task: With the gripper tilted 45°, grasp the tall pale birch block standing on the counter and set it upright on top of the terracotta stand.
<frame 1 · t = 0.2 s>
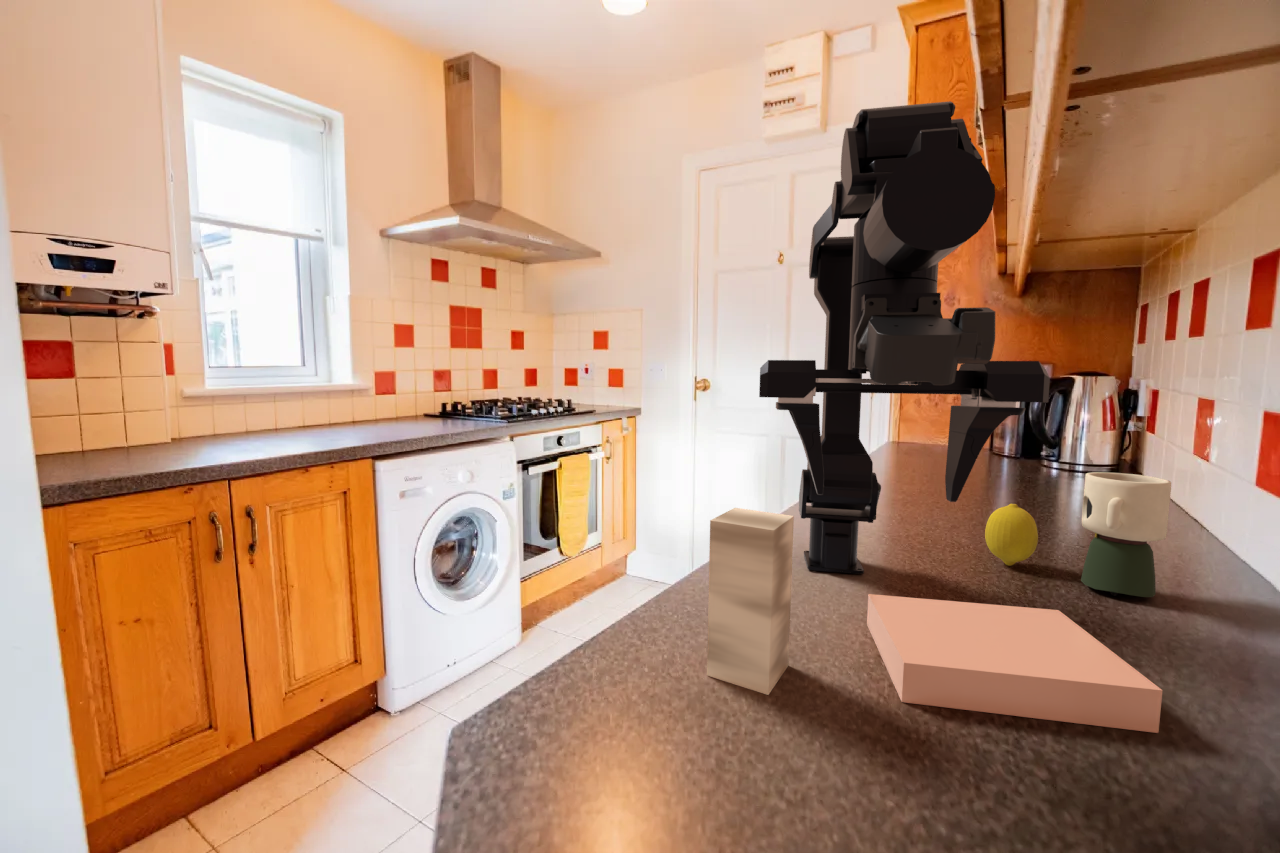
hand: (883, 497, 41), 15 cm above the counter, tool pointing down, fingers open, 9 cm apart
lemon: (1008, 567, 70), on the counter
character mug: (1116, 593, 62), on the counter
terracotta stand: (986, 669, 45), on the counter
birch block: (748, 670, 44), on the counter
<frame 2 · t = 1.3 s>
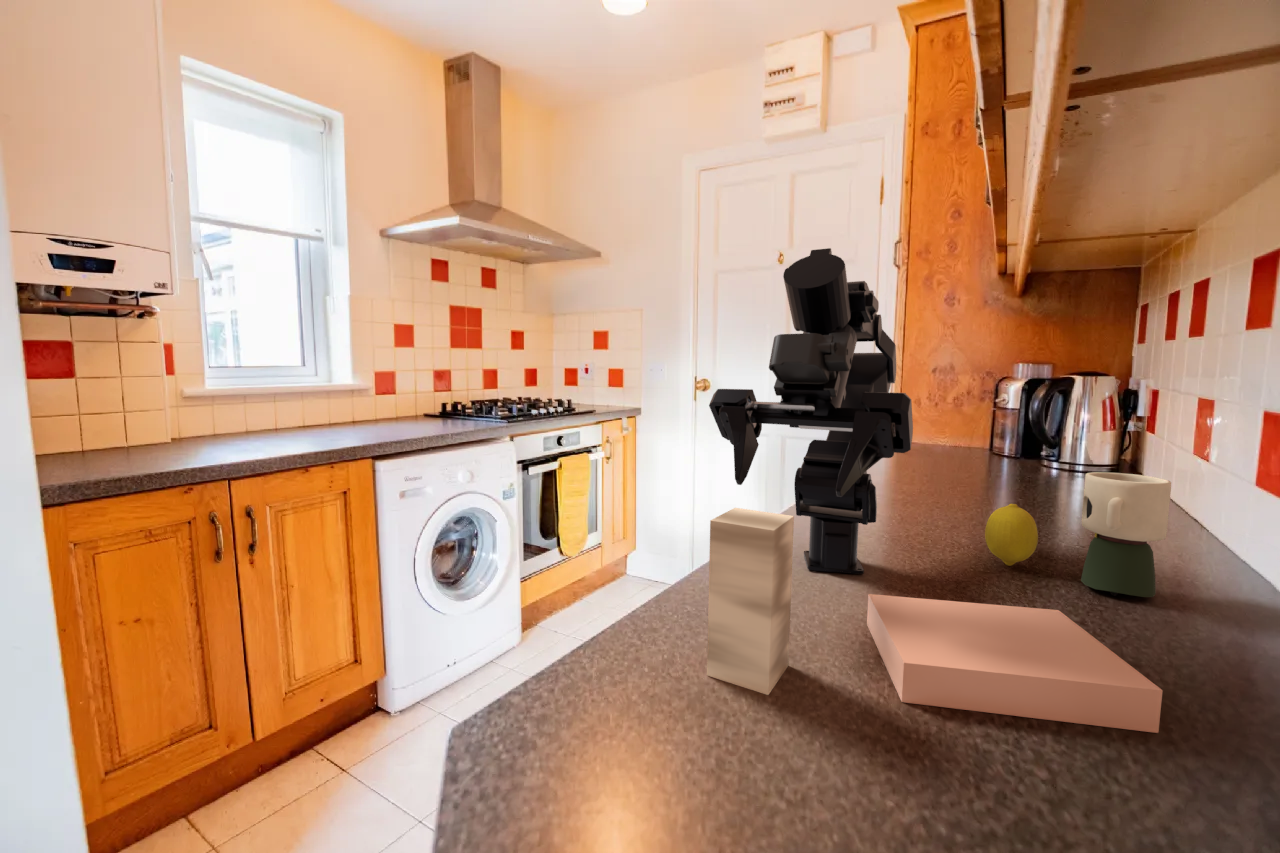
hand: (785, 487, 50), 14 cm above the counter, tool tilted 45°, fingers open, 9 cm apart
nothing on the counter moved.
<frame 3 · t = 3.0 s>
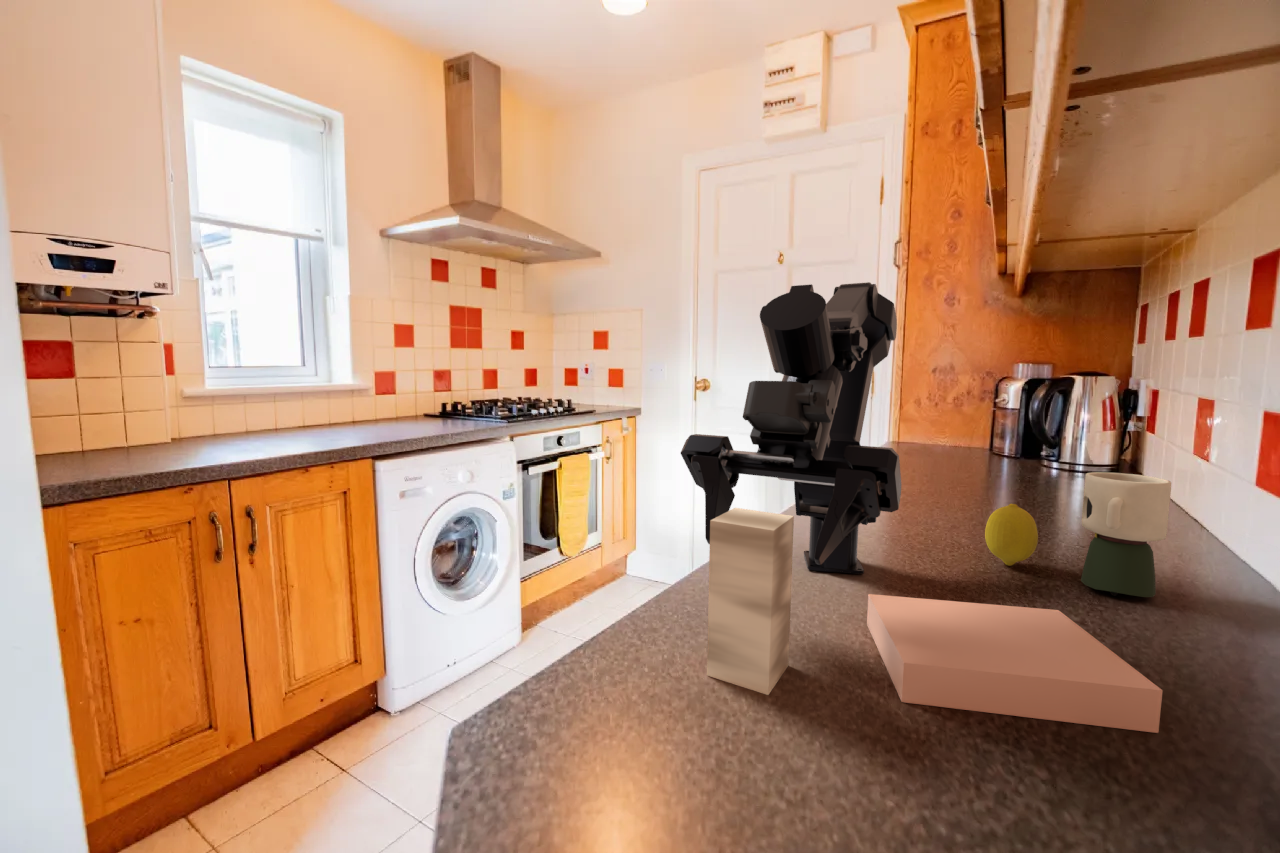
hand: (760, 551, 45), 9 cm above the counter, tool tilted 45°, fingers open, 9 cm apart
nothing on the counter moved.
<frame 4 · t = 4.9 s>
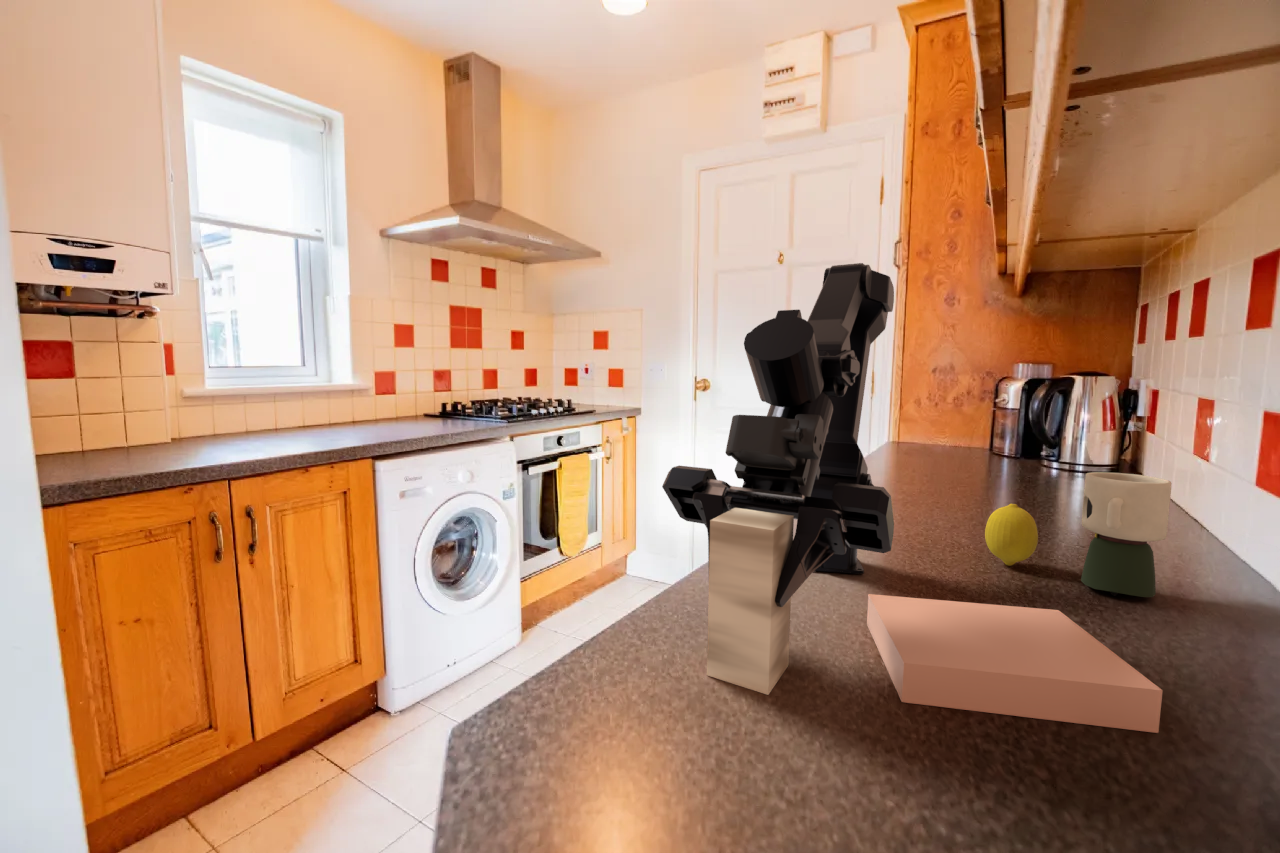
hand: (744, 596, 43), 7 cm above the counter, tool tilted 45°, fingers closed on birch block, 5 cm apart
birch block: (748, 670, 44), on the counter, touching gripper
everything else where it was.
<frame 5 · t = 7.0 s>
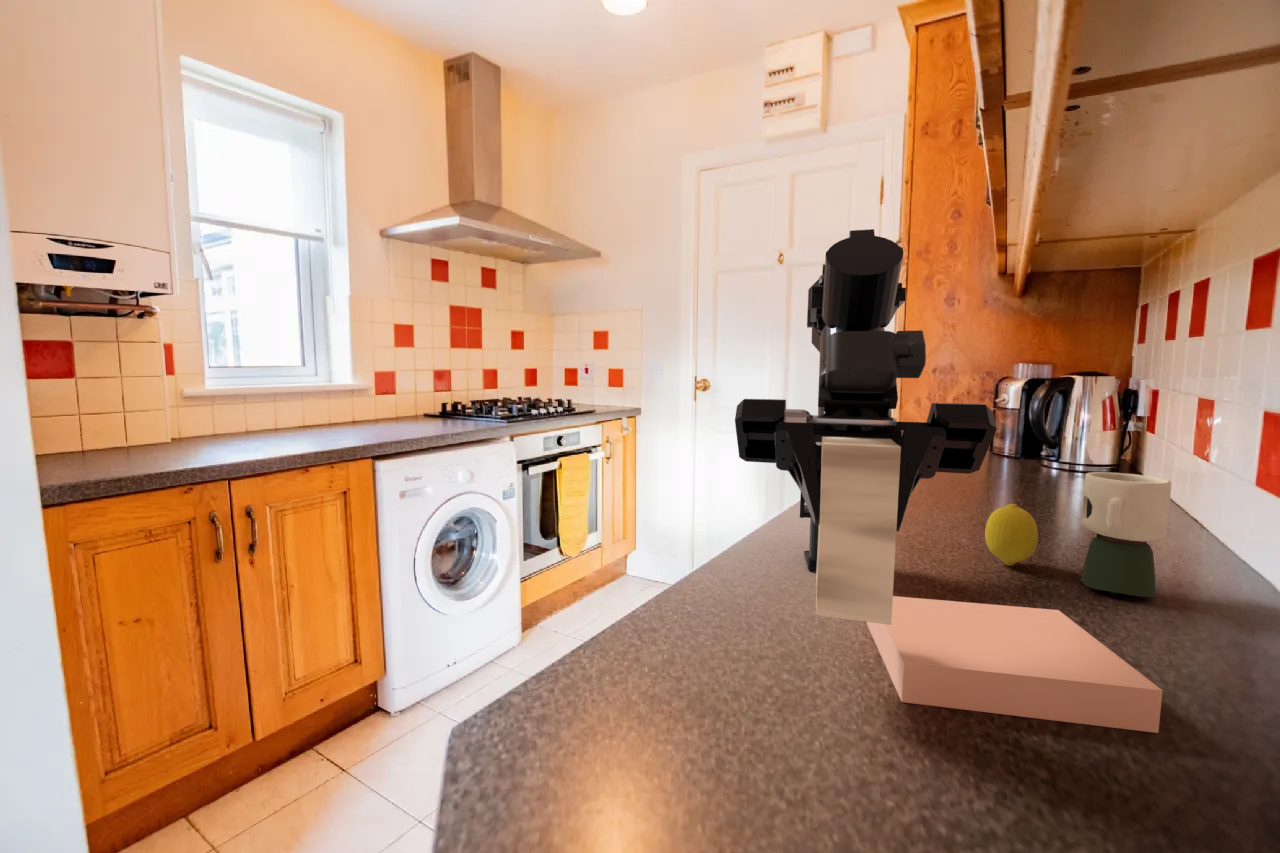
hand: (856, 525, 40), 13 cm above the counter, tool tilted 45°, fingers closed on birch block, 5 cm apart
birch block: (850, 605, 42), point 6 cm above the counter, touching gripper
everything else where it was.
when the fingers open (11 cm above the counter, at t = 9.4 s): birch block drops 1 cm, resting on terracotta stand.
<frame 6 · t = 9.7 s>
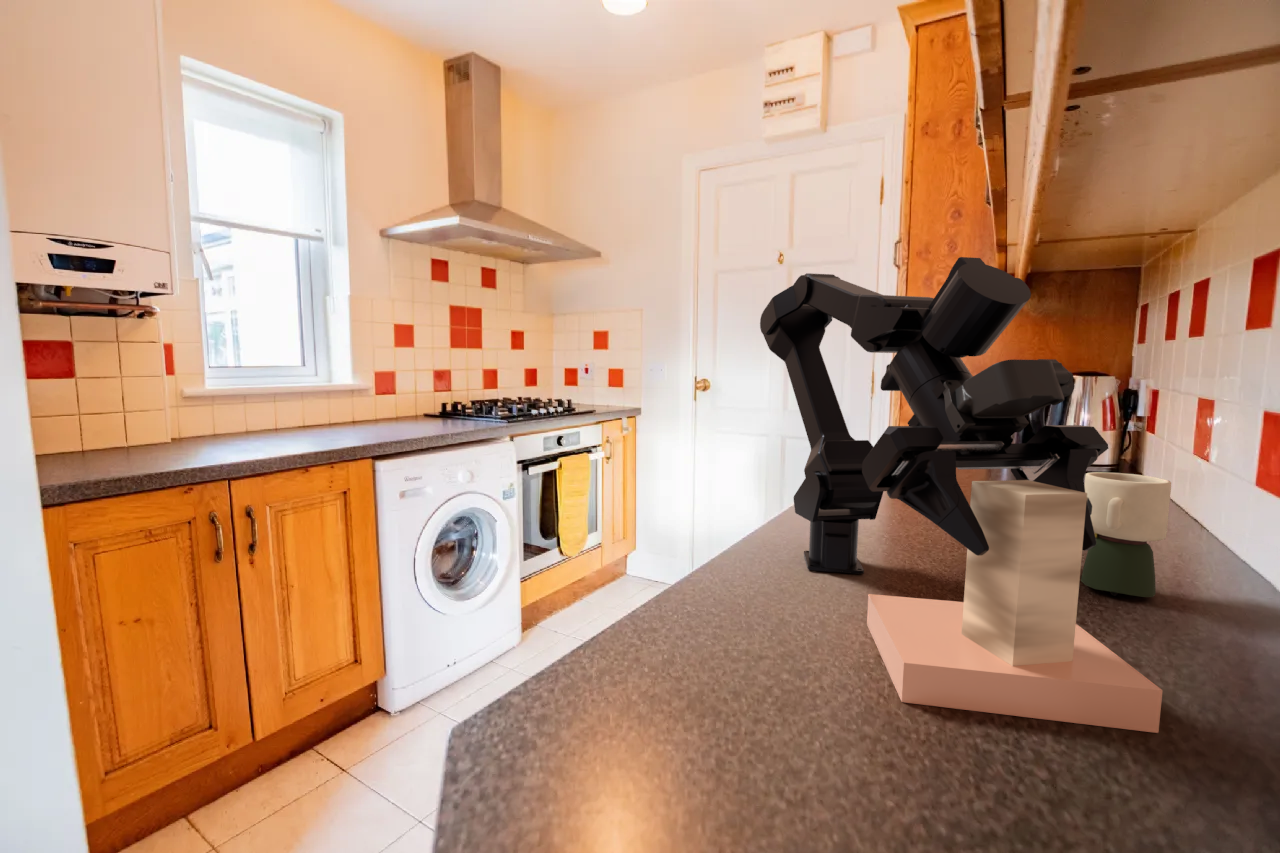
hand: (1037, 550, 40), 11 cm above the counter, tool tilted 45°, fingers open, 9 cm apart
birch block: (1014, 646, 43), point 3 cm above the counter, touching terracotta stand
everything else where it was.
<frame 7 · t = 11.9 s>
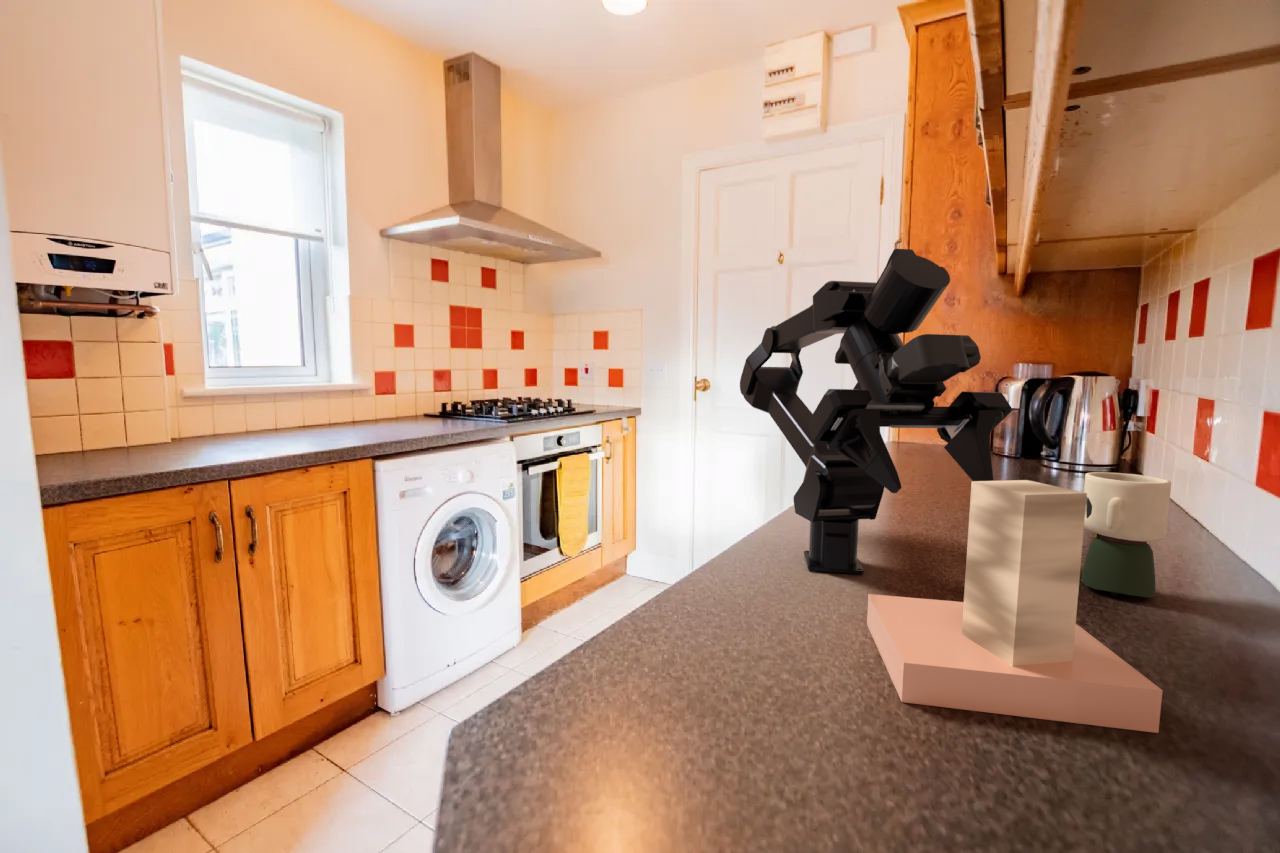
hand: (943, 490, 50), 14 cm above the counter, tool tilted 45°, fingers open, 9 cm apart
nothing on the counter moved.
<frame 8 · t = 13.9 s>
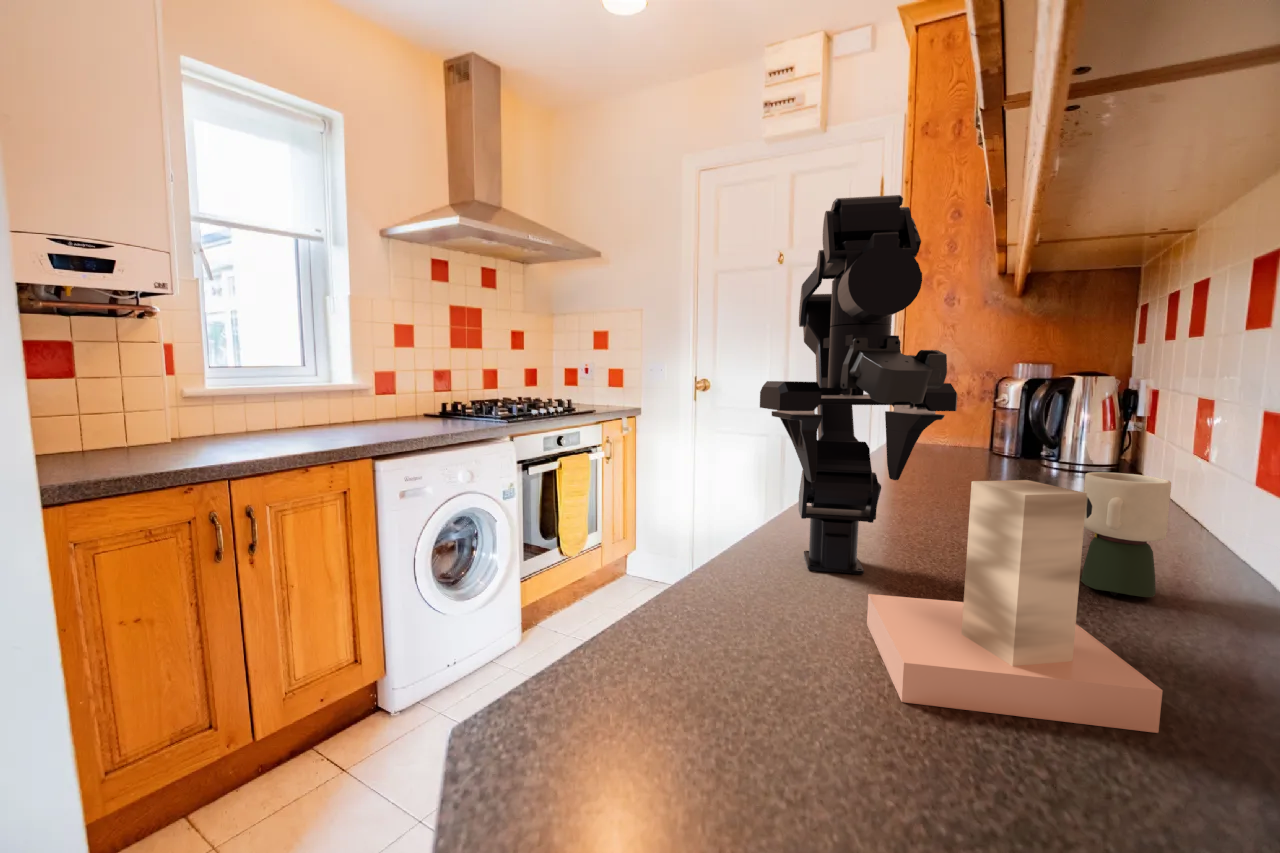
hand: (853, 480, 57), 13 cm above the counter, tool pointing down, fingers open, 9 cm apart
nothing on the counter moved.
at the end: birch block inside the target area on the terracotta stand (1.6 cm from its centre), point 3.0 cm above the terracotta stand's base; birch block tilted 0°; the gripper is holding nothing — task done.
